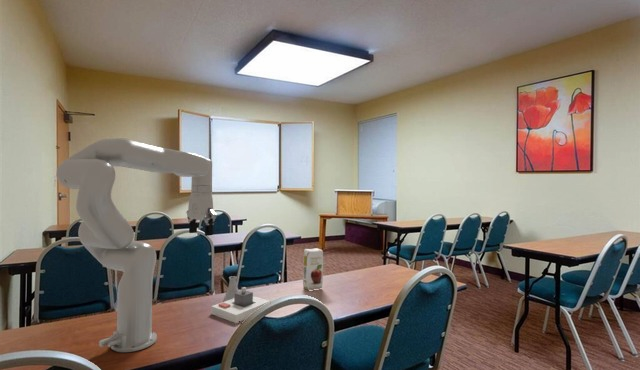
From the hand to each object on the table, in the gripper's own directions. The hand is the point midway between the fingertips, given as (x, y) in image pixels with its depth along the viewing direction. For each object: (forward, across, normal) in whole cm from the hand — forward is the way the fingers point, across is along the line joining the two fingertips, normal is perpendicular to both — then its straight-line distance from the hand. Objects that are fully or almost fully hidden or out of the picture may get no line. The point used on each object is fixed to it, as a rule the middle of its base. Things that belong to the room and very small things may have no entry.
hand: (200, 233), depth 132 cm
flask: (+31, +1, +16) cm, 34 cm away
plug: (+29, +13, +11) cm, 34 cm away
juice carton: (+30, +19, +50) cm, 62 cm away
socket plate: (+30, +13, +10) cm, 34 cm away
